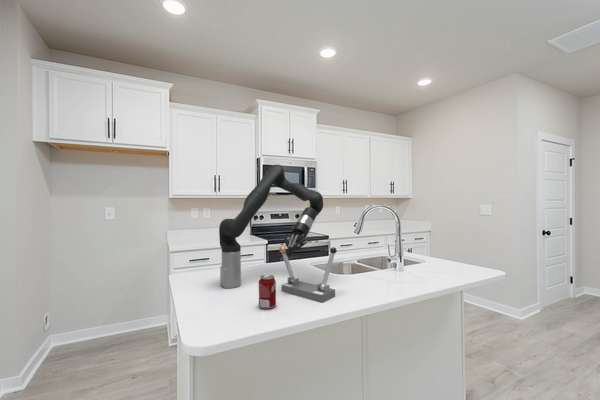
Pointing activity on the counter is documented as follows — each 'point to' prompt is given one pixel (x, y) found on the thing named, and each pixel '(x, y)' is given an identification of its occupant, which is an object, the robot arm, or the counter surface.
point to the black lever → (328, 268)
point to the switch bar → (308, 290)
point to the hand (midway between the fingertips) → (287, 255)
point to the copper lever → (287, 264)
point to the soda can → (267, 292)
